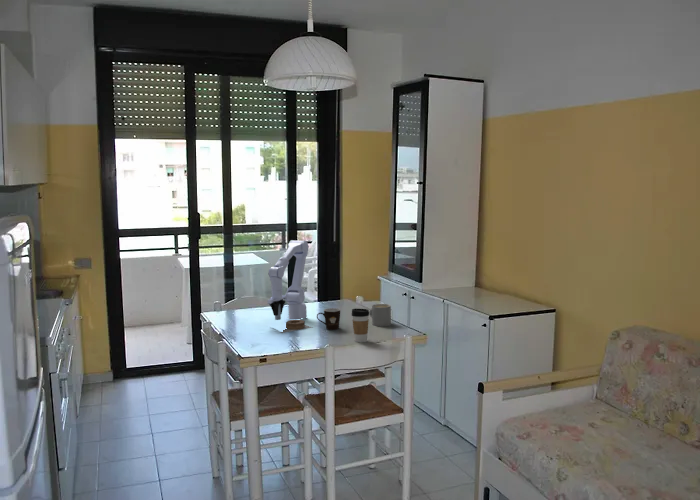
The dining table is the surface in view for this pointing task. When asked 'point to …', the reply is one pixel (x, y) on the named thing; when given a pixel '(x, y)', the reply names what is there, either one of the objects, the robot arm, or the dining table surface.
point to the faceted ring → (295, 324)
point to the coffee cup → (360, 324)
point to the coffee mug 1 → (331, 318)
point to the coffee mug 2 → (381, 314)
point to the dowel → (278, 314)
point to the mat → (295, 330)
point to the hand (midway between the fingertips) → (277, 314)
